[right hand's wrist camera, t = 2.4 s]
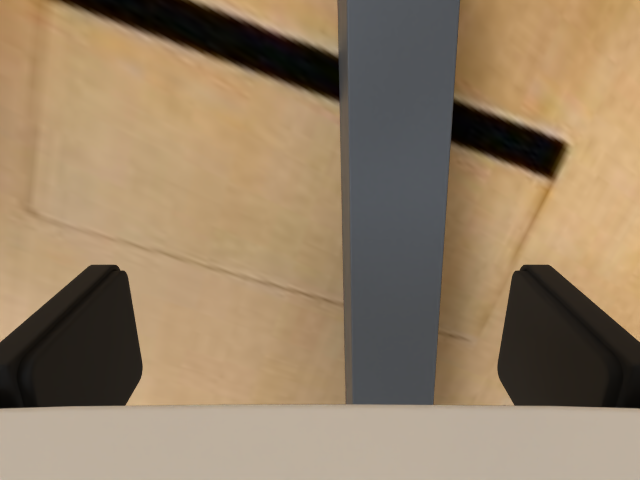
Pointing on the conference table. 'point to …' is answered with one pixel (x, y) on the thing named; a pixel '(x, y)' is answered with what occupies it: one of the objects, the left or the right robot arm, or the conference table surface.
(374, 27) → the bar
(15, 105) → the conference table surface
